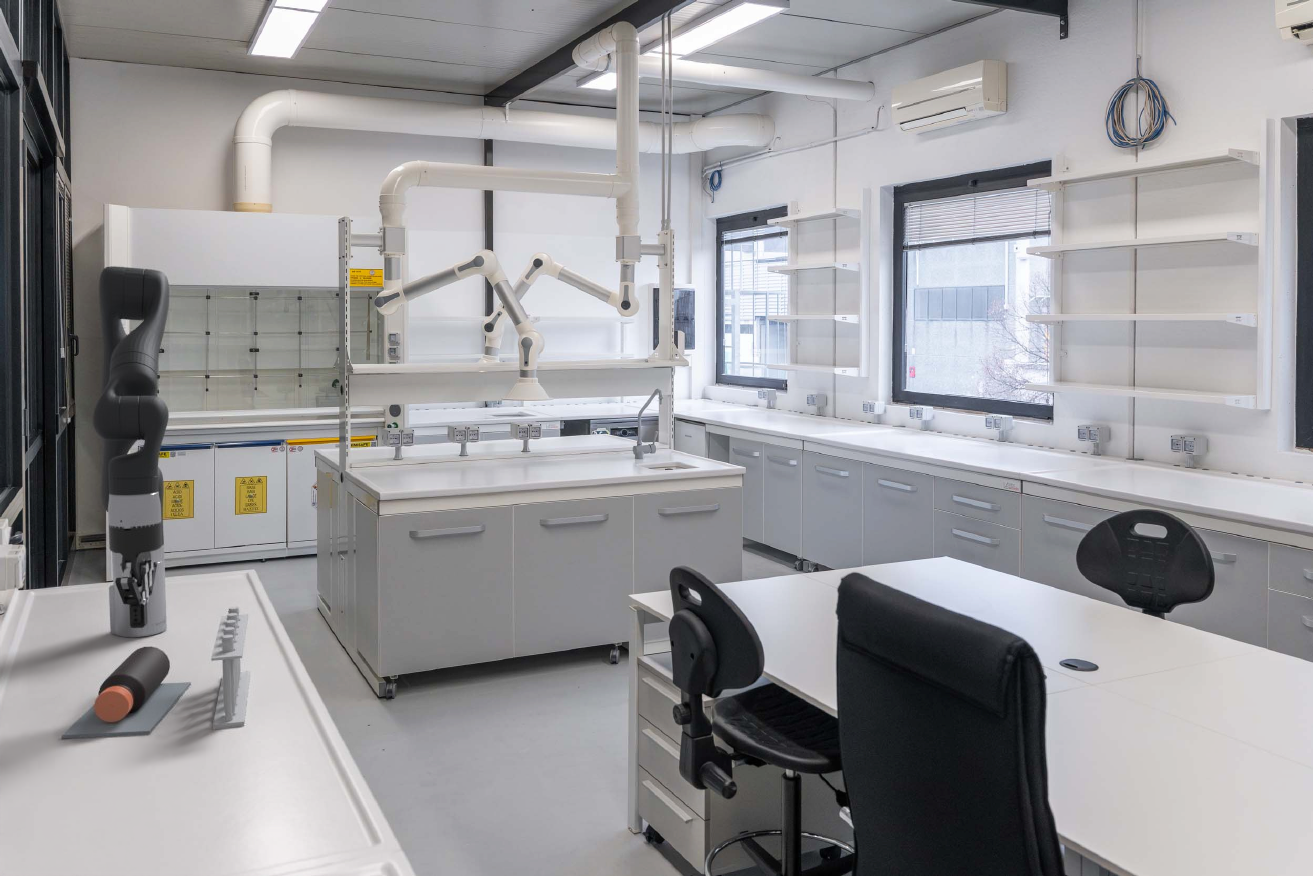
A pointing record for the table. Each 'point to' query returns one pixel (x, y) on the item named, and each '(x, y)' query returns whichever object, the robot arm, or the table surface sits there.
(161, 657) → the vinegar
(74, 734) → the slate mat
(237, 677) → the test tube rack
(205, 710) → the table surface
